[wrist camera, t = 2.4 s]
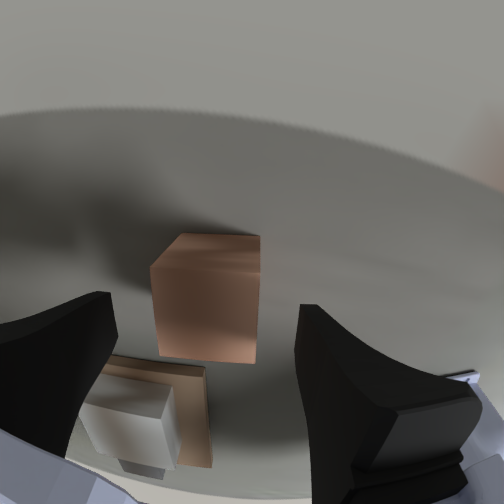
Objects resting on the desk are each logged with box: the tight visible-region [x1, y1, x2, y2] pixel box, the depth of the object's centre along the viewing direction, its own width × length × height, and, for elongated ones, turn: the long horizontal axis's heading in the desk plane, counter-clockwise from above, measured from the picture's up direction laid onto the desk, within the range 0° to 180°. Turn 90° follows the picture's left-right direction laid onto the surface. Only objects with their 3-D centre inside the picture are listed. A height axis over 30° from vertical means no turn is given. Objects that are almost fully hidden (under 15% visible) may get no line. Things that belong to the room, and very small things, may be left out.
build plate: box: [78, 355, 213, 480], centre depth 18 cm, size 10×11×4 cm
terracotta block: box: [150, 233, 260, 364], centre depth 14 cm, size 4×4×5 cm
